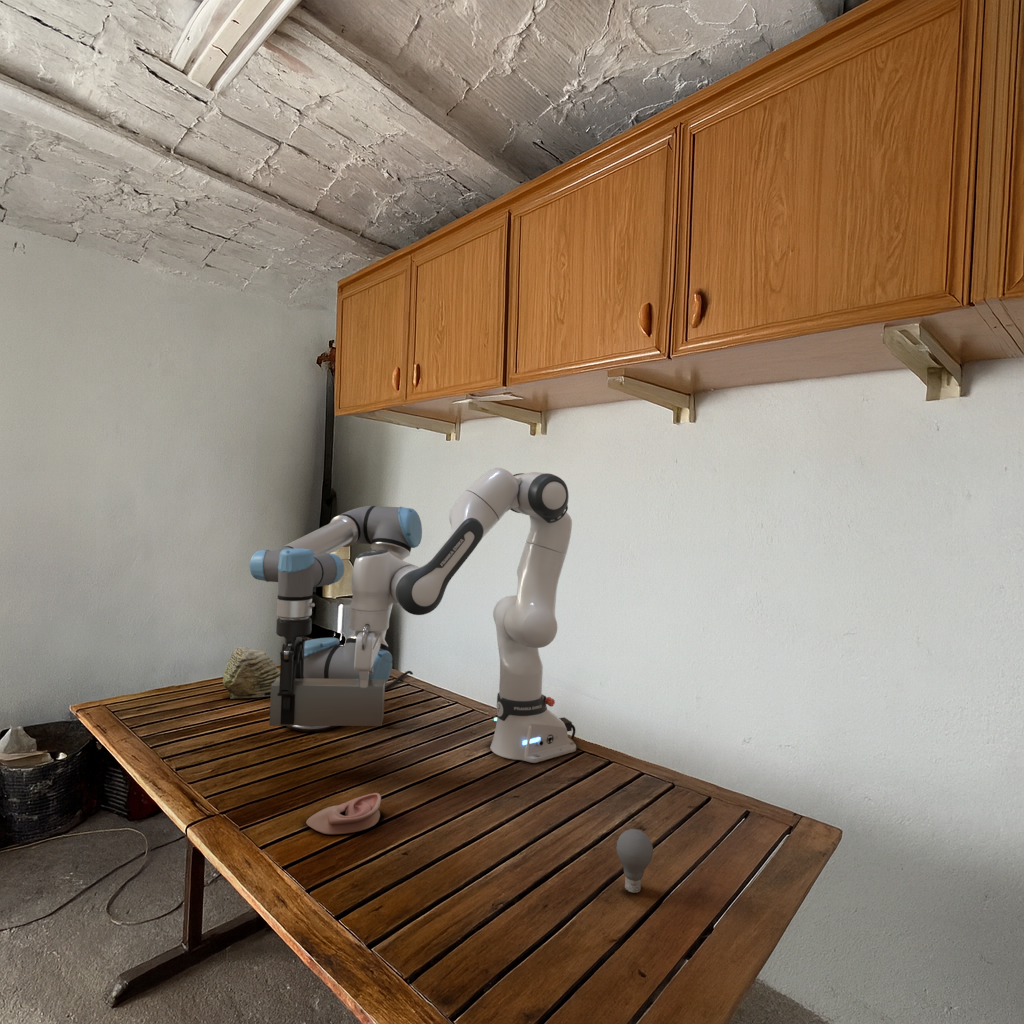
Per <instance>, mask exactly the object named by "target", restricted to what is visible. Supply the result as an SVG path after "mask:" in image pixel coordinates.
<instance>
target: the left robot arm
mask: <svg viewBox="0 0 1024 1024" xmlns="http://www.w3.org/2000/svg"><path fill="white" fill-rule="evenodd" d="M422 537H423V525H422V521H421V517H420V515H419V513H418V512H417V511H416V510H415V509H414V508H411V507H404V506H383V505H381V506H380V505H364V506H360V507H357V508H353V509H350V510H348V511H345V512H343V513H340V514H338V515H336V516H334V517H333V518H332V519H331V520H330V522H329V523H328V524H326V525H323V526H321V527H319V528H318V529H316V530H314V531H311V532H309V533H307V534H306V535H303V536H301V537H299V538H297V539H294V540H293V541H291V542H289V543H287V544H284V545H282V546H281V547H279V548H276V549H273V550H269V549H266V550H265V549H264V550H263V549H261V550H257V551H256V552H254V553H253V554H252V556H251V558H250V560H249V572H250V575H251V576H252V578H254V579H255V580H258V581H262V582H263V581H264V582H266V583H269V582H270V583H271V582H272V583H277V588H278V589H277V598H276V599H277V600H276V601H277V602H276V617H278V618H277V619H276V622H275V623H276V625H275V633H276V635H277V636H279V637H281V638H284V639H285V640H284V643H283V644H282V647H281V650H280V652H279V655H280V666H279V667H280V669H279V670H280V686H279V693H278V696H281V723H280V725H293V724H294V705H295V694H294V684H295V678H321V679H360V678H359V671H355V669H354V659H355V646H356V639H357V636H355V630H353V633H352V634H350V635H349V636H347V637H346V638H345V639H346V640H345V644H344V645H340V644H341V643H340V642H341V641H340V639H339V638H337V637H320V638H319V637H318V638H313V639H307V640H306V638H305V637H306V636H309V635H311V633H312V623H313V622H312V621H313V620H312V618H311V616H312V614H313V611H312V610H313V608H314V607H315V606H316V604H315V602H313V591H314V588H319V587H324V586H325V587H326V586H330V585H333V584H335V583H338V582H340V580H341V579H342V578H343V576H344V573H345V563H344V561H343V560H342V558H341V557H340V556H339V555H338V554H336V553H335V554H334V552H335V551H337V550H339V549H342V548H349V547H352V546H353V545H370V549H371V550H387V551H389V552H390V553H391V554H392V555H394V556H395V557H397V558H399V559H400V560H403V561H404V560H405V559H406V558H408V557H410V556H411V550H412V549H415V548H418V547H419V546H420V545H421V542H422ZM393 605H394V603H392V604H391V605H390V612H389V619H390V618H391V613H392V608H393ZM387 630H388V629H387ZM387 630H384V631H383V636H382V639H381V645H380V649H379V652H378V654H377V656H376V659H375V661H374V667H373V674H372V675H371V676H369V679H385V690H387V689H388V688H390V687H392V686H394V685H395V684H396V683H398V682H399V681H400V680H401V679H402V678H404V677H406V676H407V675H411V676H412V675H414V672H413V671H412V670H407V671H405V672H403V673H402V674H401V675H399V676H397V678H395V680H393V681H392V682H390V683H388V681H389V678H390V676H391V673H392V669H393V655H392V654H391V652H390V651H389V644H388V643H387V641H386V634H387ZM387 683H388V684H387ZM386 684H387V685H386ZM337 727H338V726H286V728H287V729H289V730H291V731H294V732H295V731H296V732H301V733H316V732H325V731H329V730H332V729H335V728H337Z"/></svg>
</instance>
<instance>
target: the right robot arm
mask: <svg viewBox="0 0 1024 1024" xmlns="http://www.w3.org/2000/svg"><path fill="white" fill-rule="evenodd" d="M569 499H570V498H569V489H568V485H567V484H566V482H565V480H563V479H562V478H561V477H559V476H558V475H555V474H552V473H545V472H538V471H532V472H526V473H524V472H522V473H521V472H519V473H515V474H513V473H511V472H510V471H509V470H507V469H505V468H502V467H493V468H491V469H490V470H488V471H487V472H485V473H484V474H482V475H481V476H480V477H479V478H477V479H476V480H475V481H474V482H472V483H471V484H470V485H469V486H468V487H467V489H466V490H464V492H462V494H461V495H460V496H459V497H458V499H456V501H455V503H454V504H453V506H452V507H451V509H450V510H449V515H448V516H449V517H448V519H449V523H450V533H449V535H448V537H447V539H446V540H445V541H444V542H443V543H442V545H440V547H439V548H438V549H437V551H436V552H435V553H434V554H433V556H432V557H431V558H430V559H429V561H428V562H426V563H425V564H423V565H422V566H418V565H415V564H412V563H409V562H407V561H405V560H404V559H403V560H400V559H399V558H397V557H395V556H394V555H392V554H391V553H390V552H389V551H387V550H372V549H371V550H366V551H363V552H360V553H359V554H358V555H357V556H356V557H355V558H354V559H355V560H354V562H353V567H352V575H351V588H350V589H351V593H352V600H351V603H350V609H349V627H348V628H349V629H350V630H352V631H354V630H355V636H357V639H356V646H355V659H354V669H355V671H359V678H360V687H361V688H367V687H368V683H369V676H371V675H372V674H373V667H374V661H375V659H376V656H377V654H378V652H379V649H380V645H381V639H382V636H383V631H384V630H388V629H389V628H390V618H389V612H390V605H391V604H392V603H393V604H398V605H399V606H401V608H402V609H403V610H404V611H405V612H406V613H409V614H411V615H415V616H423V615H424V616H425V615H427V614H431V612H433V611H435V609H437V608H438V607H439V606H440V603H441V602H442V601H443V598H444V595H445V593H446V590H447V586H448V584H449V583H450V581H451V580H452V579H453V577H454V576H455V575H456V574H457V572H458V571H459V569H460V568H461V567H462V566H463V565H464V563H465V562H466V561H467V559H468V558H469V557H470V556H471V555H472V553H473V552H474V550H475V549H477V546H478V545H479V544H480V542H481V541H482V540H483V539H484V537H485V536H487V534H488V533H489V532H491V530H492V529H493V528H494V527H495V526H496V525H497V524H498V522H499V521H500V520H501V519H502V518H503V516H504V515H505V514H506V513H507V512H509V511H512V512H514V513H516V514H522V515H525V516H529V520H530V521H529V522H530V528H529V531H528V535H527V538H526V541H525V544H524V547H523V551H522V552H521V557H520V558H519V559H520V560H519V563H518V566H517V569H516V576H517V588H516V589H517V590H516V594H515V595H507V596H504V597H502V598H500V599H499V600H498V601H497V602H496V604H495V605H494V608H493V611H492V613H493V614H492V617H493V621H494V624H495V629H496V639H497V649H498V655H499V683H498V684H499V685H498V686H499V687H498V689H499V690H498V693H497V695H496V696H497V697H496V717H493V721H494V722H496V723H495V728H494V734H493V737H492V740H491V743H490V751H491V752H492V753H494V754H495V755H496V756H498V757H501V758H505V759H509V760H516V761H524V762H526V763H527V762H528V763H530V764H531V763H532V764H537V763H541V762H544V761H547V760H550V759H553V758H557V757H561V756H564V755H567V754H571V753H574V752H576V751H577V745H576V742H575V741H573V740H574V739H575V736H576V726H575V725H574V724H573V722H572V721H571V720H569V719H568V718H566V717H559V716H557V715H556V714H555V713H554V712H553V711H551V710H550V709H548V707H554V706H555V704H556V700H555V699H554V698H552V697H551V696H548V697H547V696H546V695H544V694H543V672H544V667H543V661H542V660H541V655H540V652H539V649H540V648H546V647H547V646H549V645H550V644H551V643H552V642H553V641H554V639H555V638H556V636H557V633H558V622H557V618H556V605H557V604H556V603H557V592H558V586H559V580H560V577H561V574H562V570H563V568H564V567H563V566H564V563H565V561H566V558H567V555H568V549H569V546H570V543H571V536H572V529H573V528H572V527H573V519H572V517H571V515H570V514H569V513H568V510H569V507H568V505H569ZM568 732H572V733H571V737H569V735H568Z"/></svg>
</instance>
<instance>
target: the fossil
mask: <svg viewBox="0 0 1024 1024" xmlns="http://www.w3.org/2000/svg"><path fill="white" fill-rule="evenodd" d="M222 676H223V677H222V685H223V687H224V688H225V690H226V691H228V693H229V698H230V699H250V698H264V697H271V685H272V684H273V683H274V681H275V680H276V679H277V678H280V669H279V668H278V667H277V665H276V663H275V662H274V660H273V659H272V658H271V657H270V656H269V655H268V654H267V653H266V652H265V650H264V649H263V648H260V647H258V648H251V647H247V646H246V647H245V646H238V647H237V648H236V649H235V650H233V651H232V653H231V656H230V657H229V659H228V660H227V663H226V666H225V668H224V671H223V675H222Z"/></svg>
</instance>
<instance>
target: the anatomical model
mask: <svg viewBox="0 0 1024 1024" xmlns="http://www.w3.org/2000/svg"><path fill="white" fill-rule="evenodd" d="M381 803H382V796H381V794H380V793H379V792H373V793H368V794H364V795H362V796H358V797H356V798H353V799H351V800H348V801H346V802H343V803H340V804H338V805H332V806H328V807H325V808H323V809H321V810H319V811H317V812H315V813H313V814H312V815H311V816H310V817H308V818H307V819H306V821H305V824H306V825H307V826H308V827H309V828H311V829H312V830H314V831H316V832H319V833H321V834H323V835H343V834H351V833H356V832H362V831H365V830H367V829H369V828H370V829H371V828H372V827H374V826H375V825H376V824H377V823H379V821H380V818H381V812H380V810H379V809H380V807H381Z"/></svg>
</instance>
